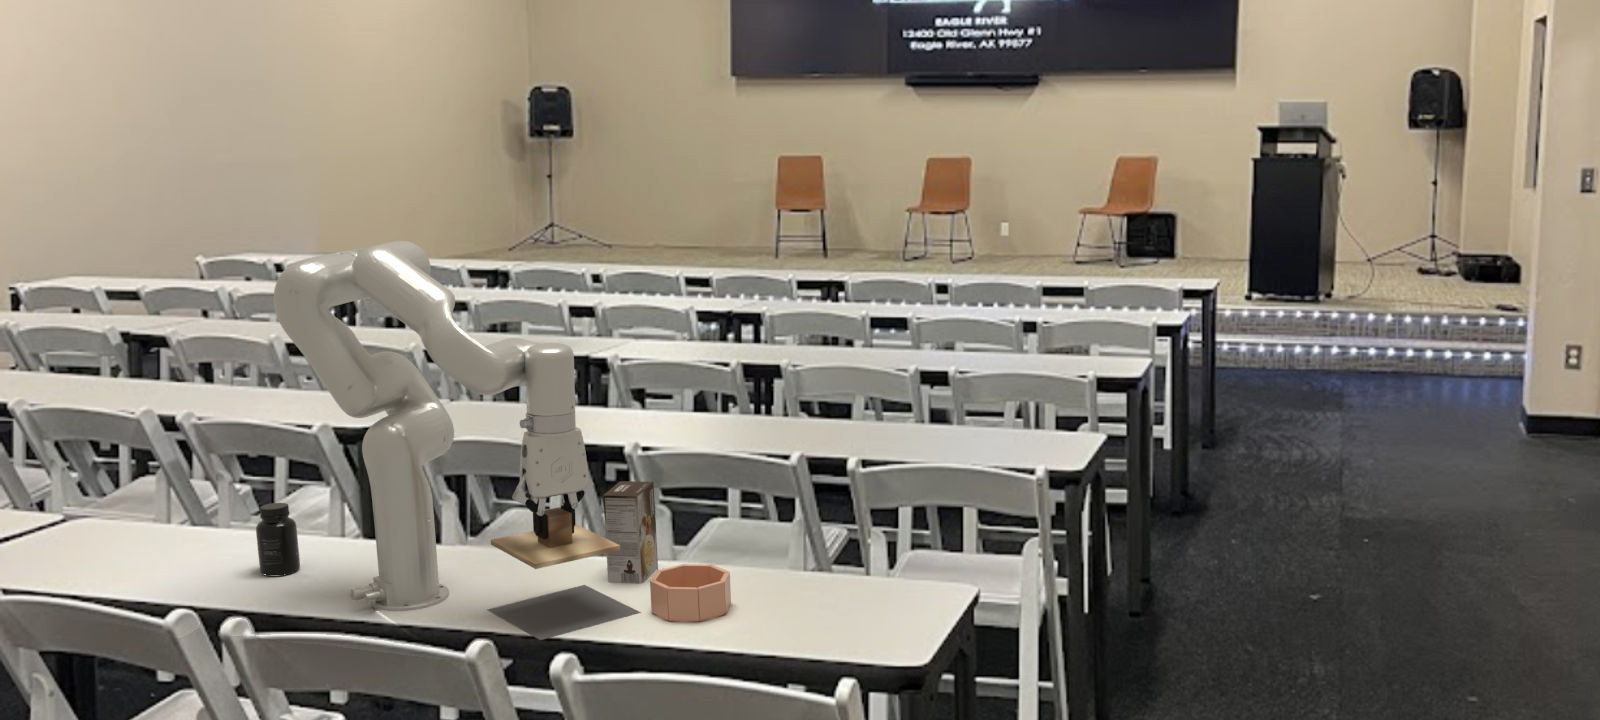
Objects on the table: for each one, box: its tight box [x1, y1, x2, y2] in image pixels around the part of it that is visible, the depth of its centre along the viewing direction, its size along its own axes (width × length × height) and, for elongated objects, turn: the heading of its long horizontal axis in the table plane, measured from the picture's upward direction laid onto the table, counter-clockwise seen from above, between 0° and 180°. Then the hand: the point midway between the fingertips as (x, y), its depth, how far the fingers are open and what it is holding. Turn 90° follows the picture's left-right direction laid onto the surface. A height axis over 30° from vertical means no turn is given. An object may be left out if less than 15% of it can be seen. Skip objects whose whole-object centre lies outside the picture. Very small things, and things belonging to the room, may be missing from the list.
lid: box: [490, 506, 620, 570], centre depth 243 cm, size 15×15×6 cm
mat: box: [486, 584, 642, 641], centre depth 246 cm, size 18×18×1 cm
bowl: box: [649, 563, 732, 623], centre depth 245 cm, size 12×12×6 cm
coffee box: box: [602, 480, 659, 585], centre depth 261 cm, size 9×6×16 cm
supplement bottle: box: [255, 502, 301, 576], centre depth 271 cm, size 7×7×12 cm
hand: (554, 533), depth 244 cm, fingers closed on lid, 4 cm apart
